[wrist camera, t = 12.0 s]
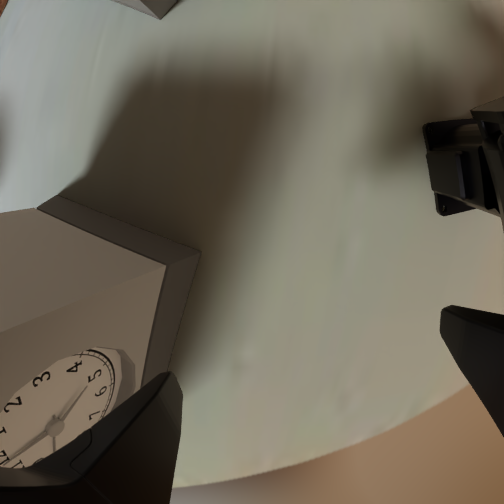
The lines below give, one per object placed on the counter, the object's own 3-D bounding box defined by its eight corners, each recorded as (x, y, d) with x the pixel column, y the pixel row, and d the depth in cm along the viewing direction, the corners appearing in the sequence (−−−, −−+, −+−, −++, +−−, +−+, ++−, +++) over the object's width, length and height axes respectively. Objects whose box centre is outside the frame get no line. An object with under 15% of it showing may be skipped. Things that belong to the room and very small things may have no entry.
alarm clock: (155, 421, 27) (87, 575, 8) (39, 358, 27) (-59, 466, 8) (201, 251, 21) (-3, 539, 2) (39, 187, 21) (-164, 264, 1)
